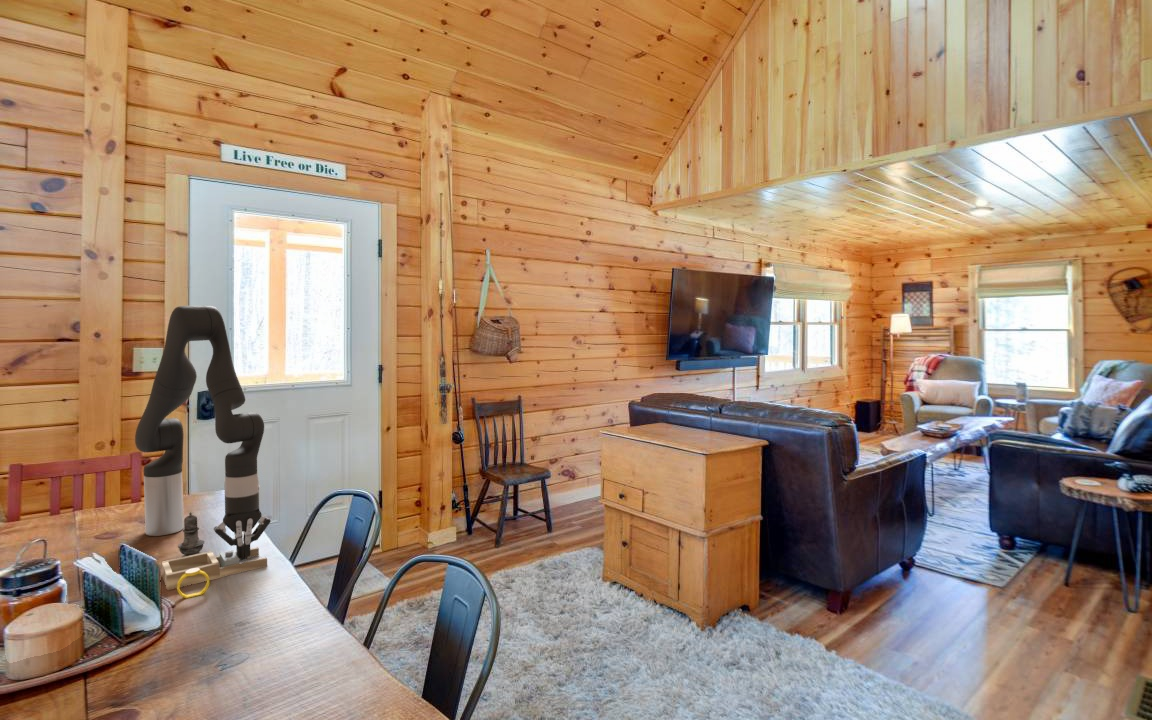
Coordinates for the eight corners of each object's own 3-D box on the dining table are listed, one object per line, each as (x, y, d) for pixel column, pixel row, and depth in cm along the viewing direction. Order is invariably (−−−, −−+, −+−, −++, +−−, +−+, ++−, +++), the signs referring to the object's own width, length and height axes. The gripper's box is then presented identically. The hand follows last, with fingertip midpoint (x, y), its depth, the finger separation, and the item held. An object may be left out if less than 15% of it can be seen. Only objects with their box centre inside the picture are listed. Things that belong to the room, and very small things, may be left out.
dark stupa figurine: (191, 562, 147) (190, 516, 146) (172, 560, 148) (171, 515, 148) (210, 553, 153) (209, 509, 152) (191, 552, 154) (190, 508, 153)
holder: (161, 575, 139) (161, 561, 139) (257, 554, 153) (257, 541, 153) (167, 590, 131) (166, 575, 131) (267, 566, 145) (267, 552, 145)
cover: (219, 564, 146) (219, 549, 146) (233, 561, 148) (233, 547, 147) (225, 573, 140) (224, 558, 140) (239, 570, 142) (238, 555, 142)
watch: (179, 603, 126) (175, 577, 126) (178, 598, 128) (175, 572, 128) (211, 593, 130) (208, 568, 129) (209, 589, 132) (206, 564, 132)
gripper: (267, 484, 152) (268, 548, 153) (208, 493, 144) (210, 561, 145) (274, 490, 147) (275, 556, 148) (214, 500, 138) (216, 570, 139)
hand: (243, 558), depth 146 cm, fingers closed
